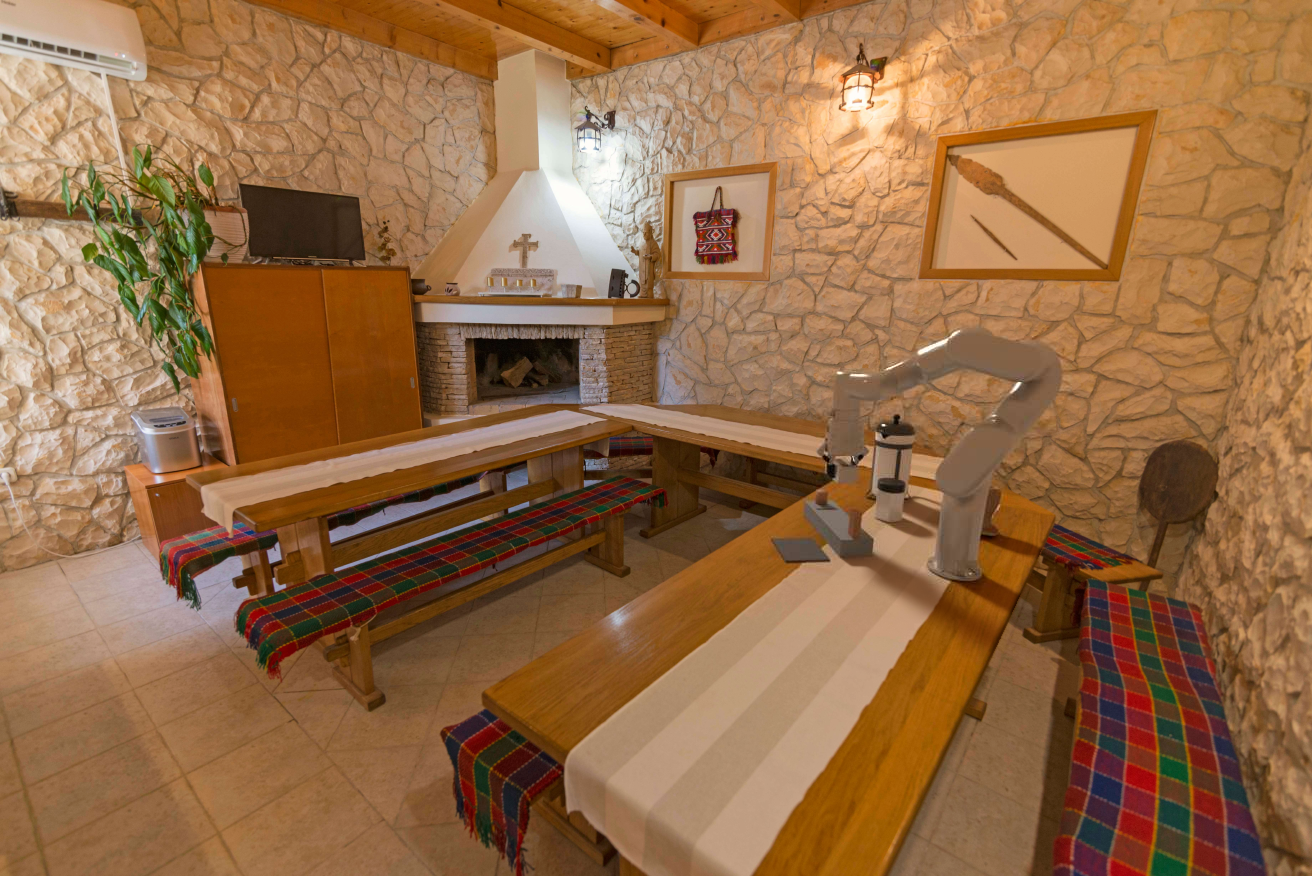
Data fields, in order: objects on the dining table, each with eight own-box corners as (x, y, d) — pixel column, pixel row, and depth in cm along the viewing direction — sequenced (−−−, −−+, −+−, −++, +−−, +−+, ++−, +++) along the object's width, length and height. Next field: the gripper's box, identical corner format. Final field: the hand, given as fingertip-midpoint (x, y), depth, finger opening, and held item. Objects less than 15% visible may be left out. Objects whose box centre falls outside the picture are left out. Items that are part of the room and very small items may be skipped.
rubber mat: (829, 560, 150) (829, 559, 150) (785, 562, 149) (785, 560, 149) (811, 539, 163) (811, 537, 163) (771, 540, 162) (771, 538, 162)
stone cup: (997, 528, 172) (1005, 481, 168) (997, 542, 162) (1005, 492, 158) (942, 518, 179) (948, 473, 176) (939, 531, 170) (945, 483, 166)
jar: (907, 518, 179) (912, 482, 176) (894, 524, 174) (898, 487, 171) (881, 510, 186) (885, 475, 183) (867, 516, 181) (871, 480, 178)
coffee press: (919, 507, 189) (930, 419, 181) (869, 504, 191) (878, 417, 184) (905, 490, 205) (915, 409, 198) (860, 488, 208) (867, 407, 200)
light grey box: (857, 483, 158) (858, 466, 157) (838, 483, 157) (839, 467, 156) (843, 472, 167) (844, 456, 166) (825, 472, 167) (826, 457, 166)
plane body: (872, 556, 153) (876, 514, 150) (839, 557, 152) (843, 515, 149) (830, 514, 182) (833, 479, 179) (803, 515, 181) (806, 479, 178)
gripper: (820, 418, 154) (816, 481, 158) (881, 417, 155) (875, 480, 159) (811, 412, 161) (807, 473, 165) (869, 412, 162) (864, 472, 167)
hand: (840, 476), depth 162 cm, fingers closed on light grey box, 5 cm apart
